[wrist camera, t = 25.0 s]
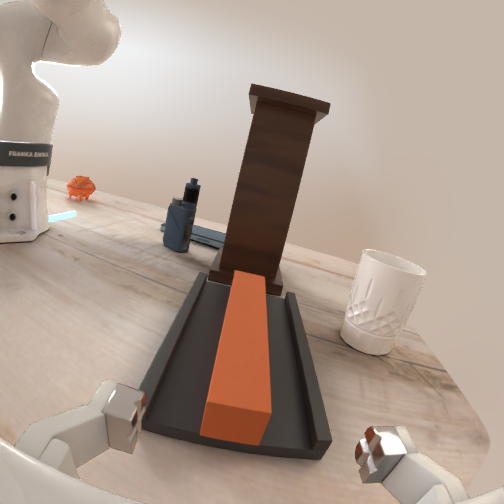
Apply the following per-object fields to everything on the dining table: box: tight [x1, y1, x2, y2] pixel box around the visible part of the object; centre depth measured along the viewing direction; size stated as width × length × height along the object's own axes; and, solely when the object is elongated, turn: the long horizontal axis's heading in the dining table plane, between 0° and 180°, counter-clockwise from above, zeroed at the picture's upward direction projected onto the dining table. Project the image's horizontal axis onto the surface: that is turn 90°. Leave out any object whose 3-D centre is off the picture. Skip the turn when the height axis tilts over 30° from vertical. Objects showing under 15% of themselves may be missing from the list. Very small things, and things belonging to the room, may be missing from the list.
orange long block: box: [200, 270, 272, 446], centre depth 26 cm, size 22×4×3 cm, turn 179°
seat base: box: [138, 272, 332, 460], centre depth 27 cm, size 24×12×2 cm, turn 179°
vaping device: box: [163, 178, 200, 252], centre depth 50 cm, size 3×5×12 cm, turn 58°
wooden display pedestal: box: [208, 84, 330, 296], centre depth 45 cm, size 14×10×26 cm
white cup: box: [340, 249, 427, 355], centre depth 33 cm, size 8×8×10 cm
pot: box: [67, 176, 96, 202], centre depth 71 cm, size 8×8×7 cm
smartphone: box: [160, 223, 226, 249], centre depth 62 cm, size 8×2×15 cm
